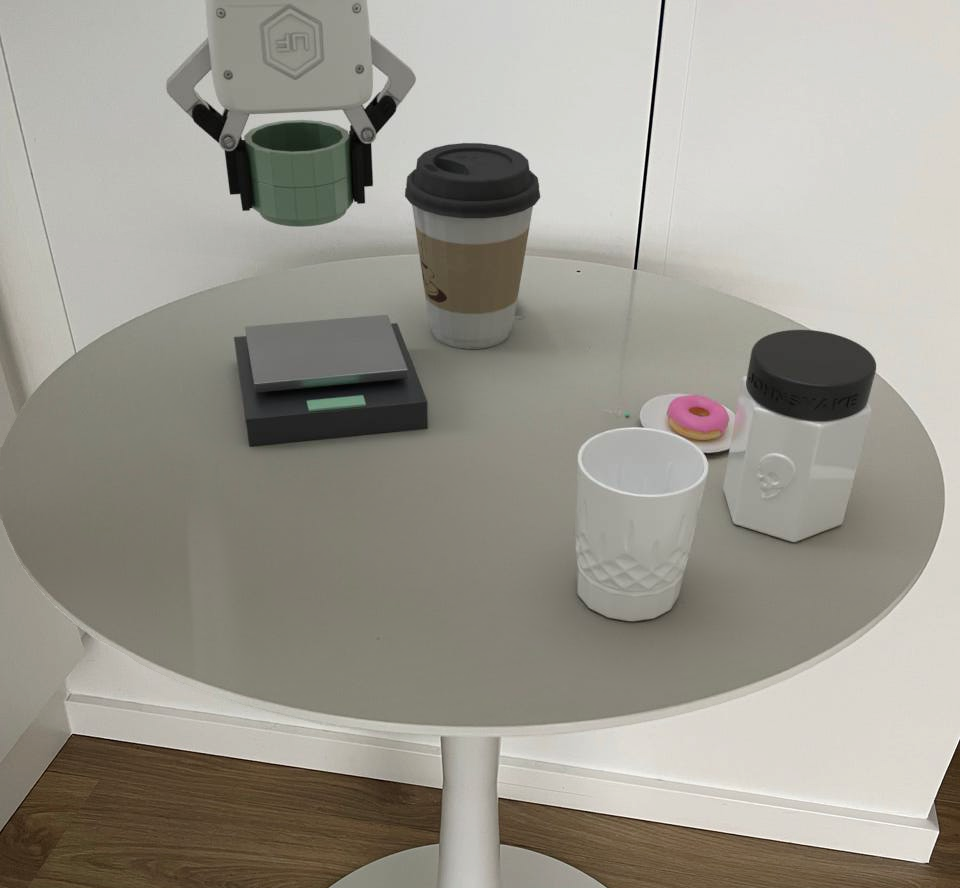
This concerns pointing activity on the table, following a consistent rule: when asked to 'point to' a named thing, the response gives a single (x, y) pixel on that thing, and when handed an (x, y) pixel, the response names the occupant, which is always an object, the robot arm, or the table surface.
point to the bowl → (300, 172)
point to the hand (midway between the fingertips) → (302, 198)
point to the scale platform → (324, 353)
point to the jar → (798, 433)
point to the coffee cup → (472, 238)
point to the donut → (690, 420)
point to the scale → (331, 406)
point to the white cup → (636, 519)
